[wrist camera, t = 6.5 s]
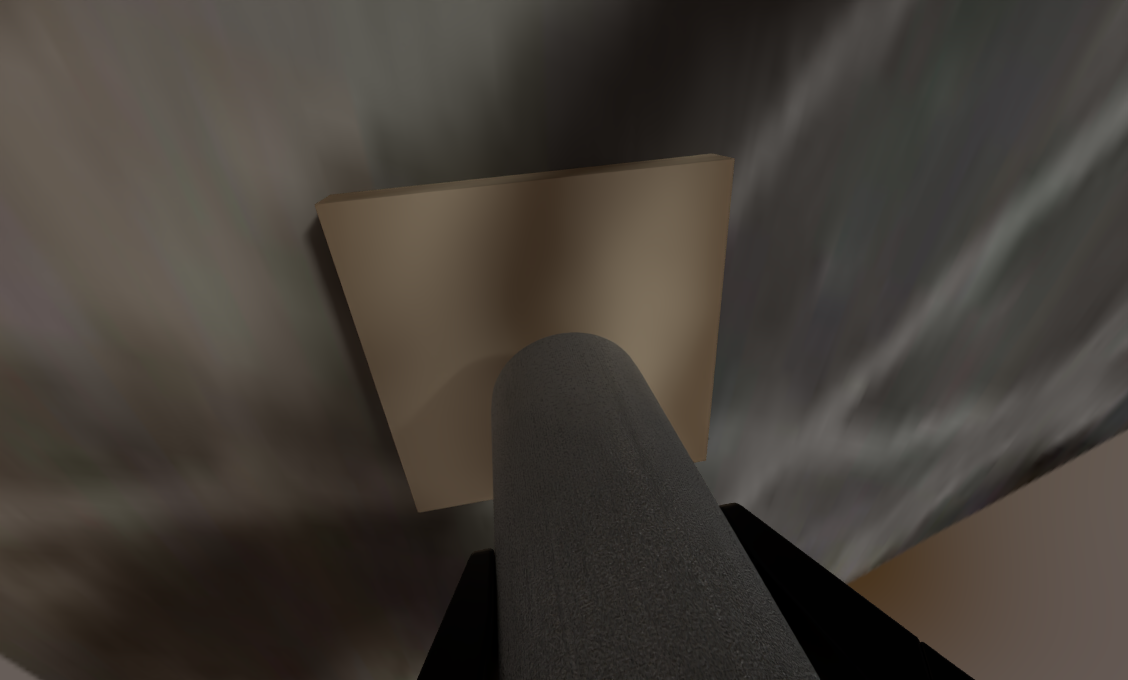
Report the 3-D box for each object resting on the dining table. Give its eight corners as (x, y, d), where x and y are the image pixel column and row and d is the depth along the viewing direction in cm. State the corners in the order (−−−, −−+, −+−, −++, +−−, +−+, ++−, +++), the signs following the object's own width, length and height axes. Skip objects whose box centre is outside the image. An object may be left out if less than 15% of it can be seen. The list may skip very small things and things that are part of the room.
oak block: (705, 151, 15) (734, 158, 13) (687, 430, 21) (705, 460, 19) (335, 191, 14) (314, 204, 12) (423, 476, 20) (418, 512, 18)
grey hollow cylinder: (586, 472, 15) (742, 1023, 6) (462, 425, 13) (424, 1093, 4) (669, 369, 14) (1033, 891, 5) (542, 302, 12) (727, 917, 3)
